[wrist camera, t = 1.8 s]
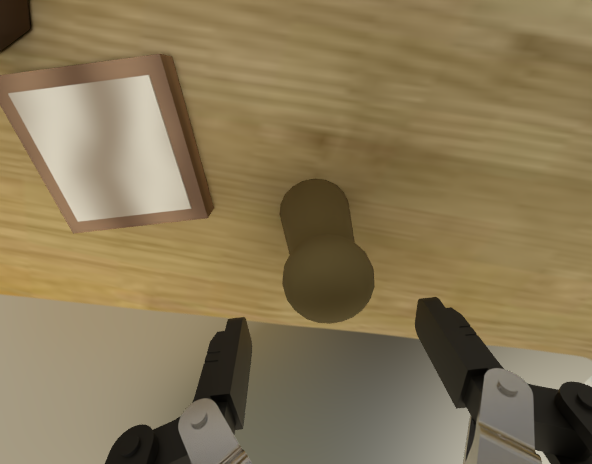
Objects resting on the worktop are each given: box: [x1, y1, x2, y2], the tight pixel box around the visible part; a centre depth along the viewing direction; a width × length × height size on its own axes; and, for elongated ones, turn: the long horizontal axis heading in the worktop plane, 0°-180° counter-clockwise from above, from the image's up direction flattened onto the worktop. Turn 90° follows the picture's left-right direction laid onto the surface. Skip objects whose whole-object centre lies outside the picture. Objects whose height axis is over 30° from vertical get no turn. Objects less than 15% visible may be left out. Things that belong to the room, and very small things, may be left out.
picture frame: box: [0, 54, 214, 233], centre depth 20 cm, size 11×11×2 cm
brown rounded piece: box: [280, 179, 374, 323], centre depth 19 cm, size 6×6×11 cm
